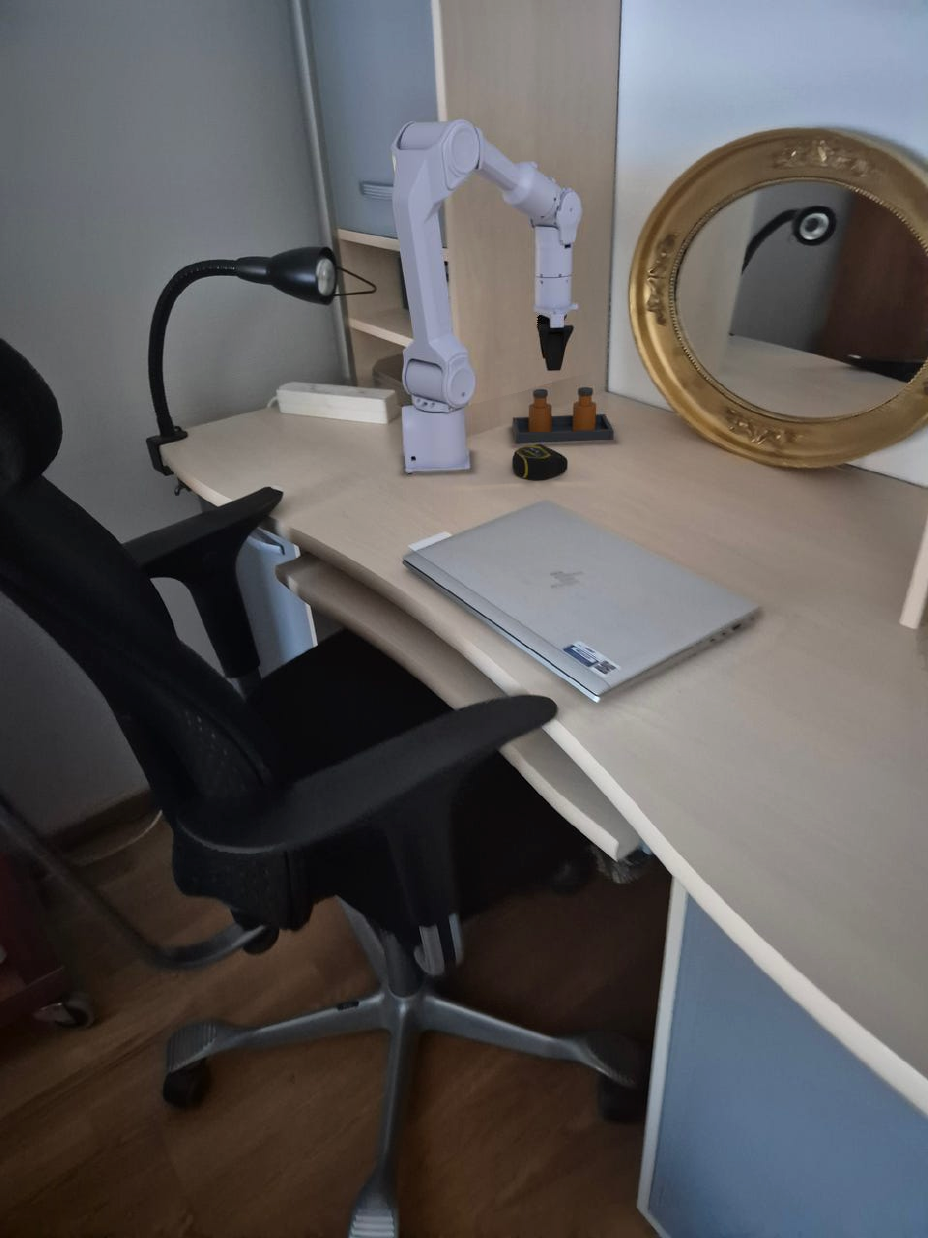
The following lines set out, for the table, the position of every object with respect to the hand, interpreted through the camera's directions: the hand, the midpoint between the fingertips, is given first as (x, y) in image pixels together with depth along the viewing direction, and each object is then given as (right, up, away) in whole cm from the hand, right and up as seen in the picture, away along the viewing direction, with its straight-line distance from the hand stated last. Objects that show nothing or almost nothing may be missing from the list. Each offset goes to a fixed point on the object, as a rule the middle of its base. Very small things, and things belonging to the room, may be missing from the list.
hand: (551, 363), depth 132 cm
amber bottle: (+5, -12, -2) cm, 13 cm away
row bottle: (-2, -12, -2) cm, 12 cm away
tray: (+1, -12, -2) cm, 12 cm away
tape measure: (-3, -21, -15) cm, 26 cm away
